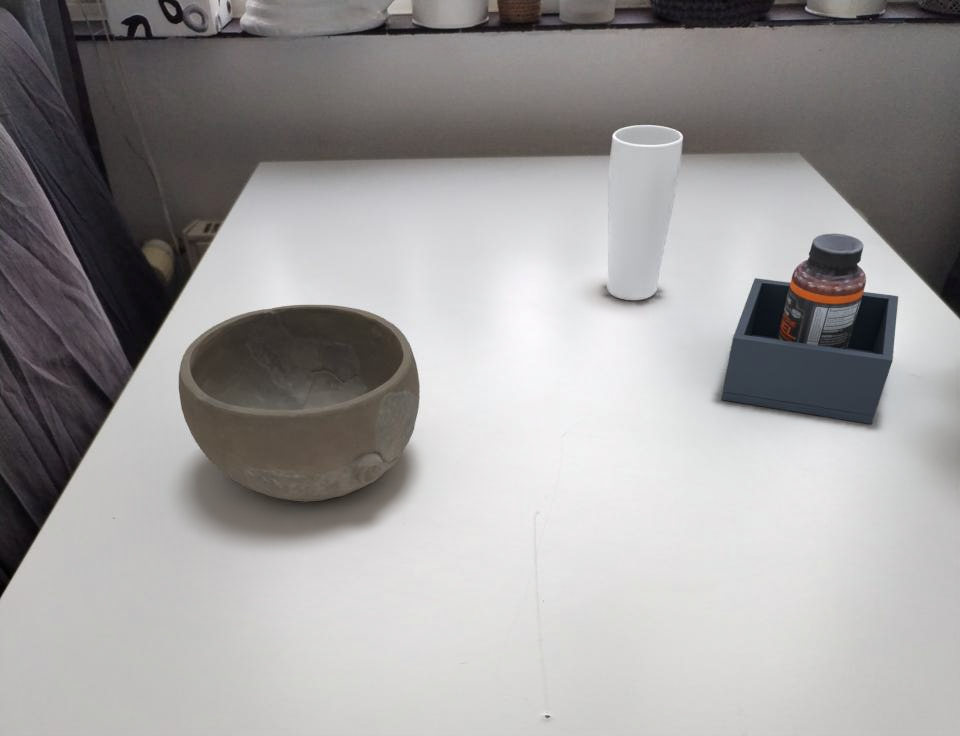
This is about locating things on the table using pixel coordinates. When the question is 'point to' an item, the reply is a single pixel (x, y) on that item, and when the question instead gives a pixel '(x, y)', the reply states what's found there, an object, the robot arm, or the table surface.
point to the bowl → (301, 399)
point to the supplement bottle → (825, 293)
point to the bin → (810, 359)
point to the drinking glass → (640, 206)
